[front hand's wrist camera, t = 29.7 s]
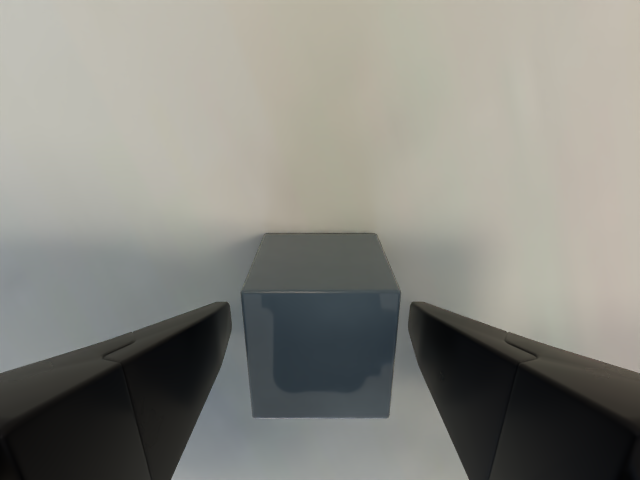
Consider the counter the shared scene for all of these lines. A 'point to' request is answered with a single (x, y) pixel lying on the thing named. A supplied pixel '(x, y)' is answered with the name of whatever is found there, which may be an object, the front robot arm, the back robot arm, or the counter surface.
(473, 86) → the counter surface
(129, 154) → the counter surface
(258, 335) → the block
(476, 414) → the front robot arm
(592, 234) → the counter surface
